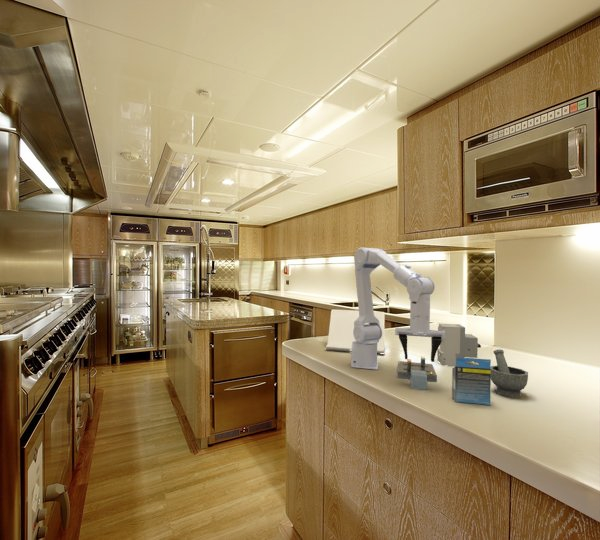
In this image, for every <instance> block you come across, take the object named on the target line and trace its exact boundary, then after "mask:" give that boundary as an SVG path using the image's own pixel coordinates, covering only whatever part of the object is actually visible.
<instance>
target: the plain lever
mask: <svg viewBox="0 0 600 540" xmlns="http://www.w3.org/2000/svg"><path fill="white" fill-rule="evenodd" d="M420 363H421V366H425V364H426V357H425V356H423V355H421V356H420Z"/></svg>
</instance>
